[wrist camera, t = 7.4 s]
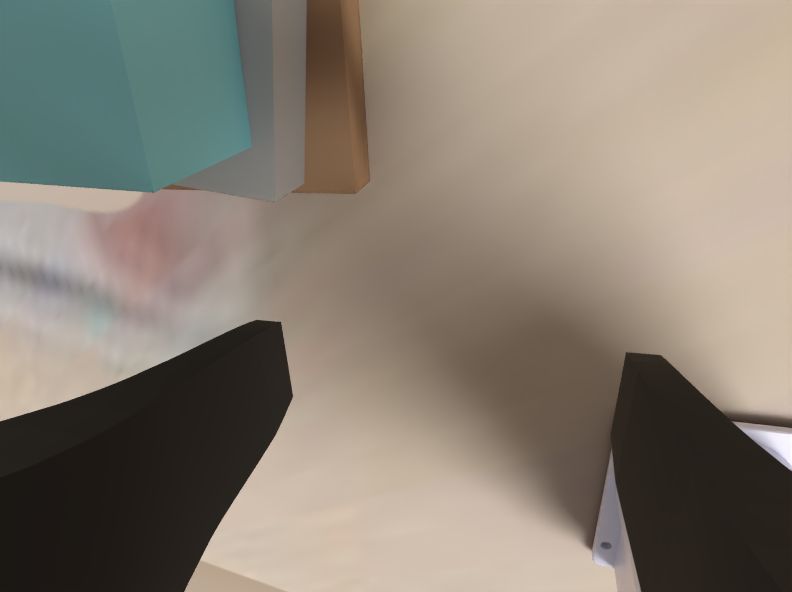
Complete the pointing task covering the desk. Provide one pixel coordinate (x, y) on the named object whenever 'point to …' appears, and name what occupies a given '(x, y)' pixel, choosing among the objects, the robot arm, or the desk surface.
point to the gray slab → (267, 104)
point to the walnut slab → (333, 101)
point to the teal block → (119, 91)
